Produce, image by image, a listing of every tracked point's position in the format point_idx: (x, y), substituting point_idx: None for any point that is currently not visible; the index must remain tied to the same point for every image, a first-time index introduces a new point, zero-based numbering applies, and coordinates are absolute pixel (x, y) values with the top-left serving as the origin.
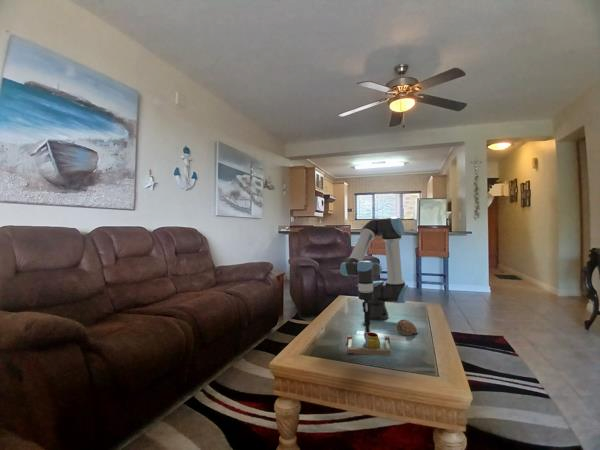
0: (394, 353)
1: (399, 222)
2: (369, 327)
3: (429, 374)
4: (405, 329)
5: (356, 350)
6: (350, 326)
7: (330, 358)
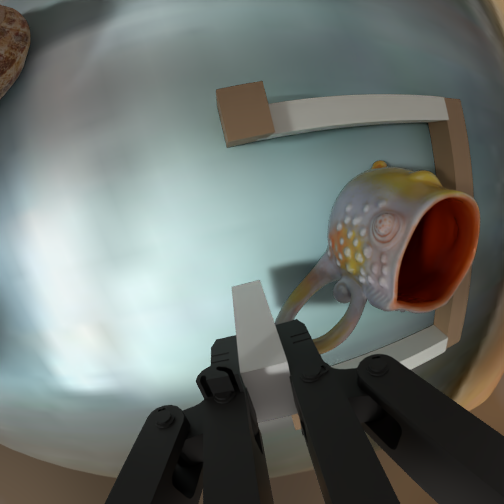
0: (411, 75)
1: None
2: (283, 350)
3: (494, 12)
4: (12, 33)
5: (463, 299)
6: (42, 415)
7: (472, 359)
